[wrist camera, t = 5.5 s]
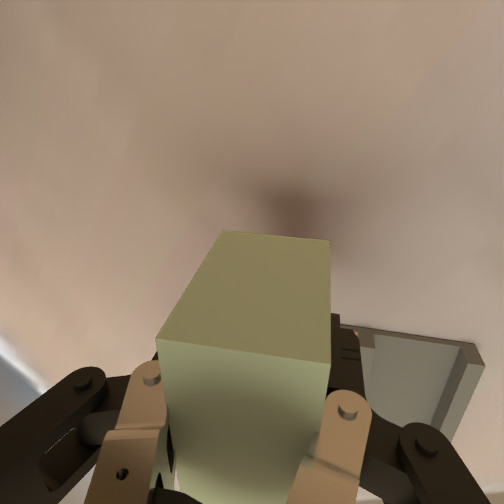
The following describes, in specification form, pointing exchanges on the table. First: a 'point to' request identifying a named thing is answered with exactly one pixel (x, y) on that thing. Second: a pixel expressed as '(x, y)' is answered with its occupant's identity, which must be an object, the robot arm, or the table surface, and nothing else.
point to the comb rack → (418, 377)
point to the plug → (248, 366)
